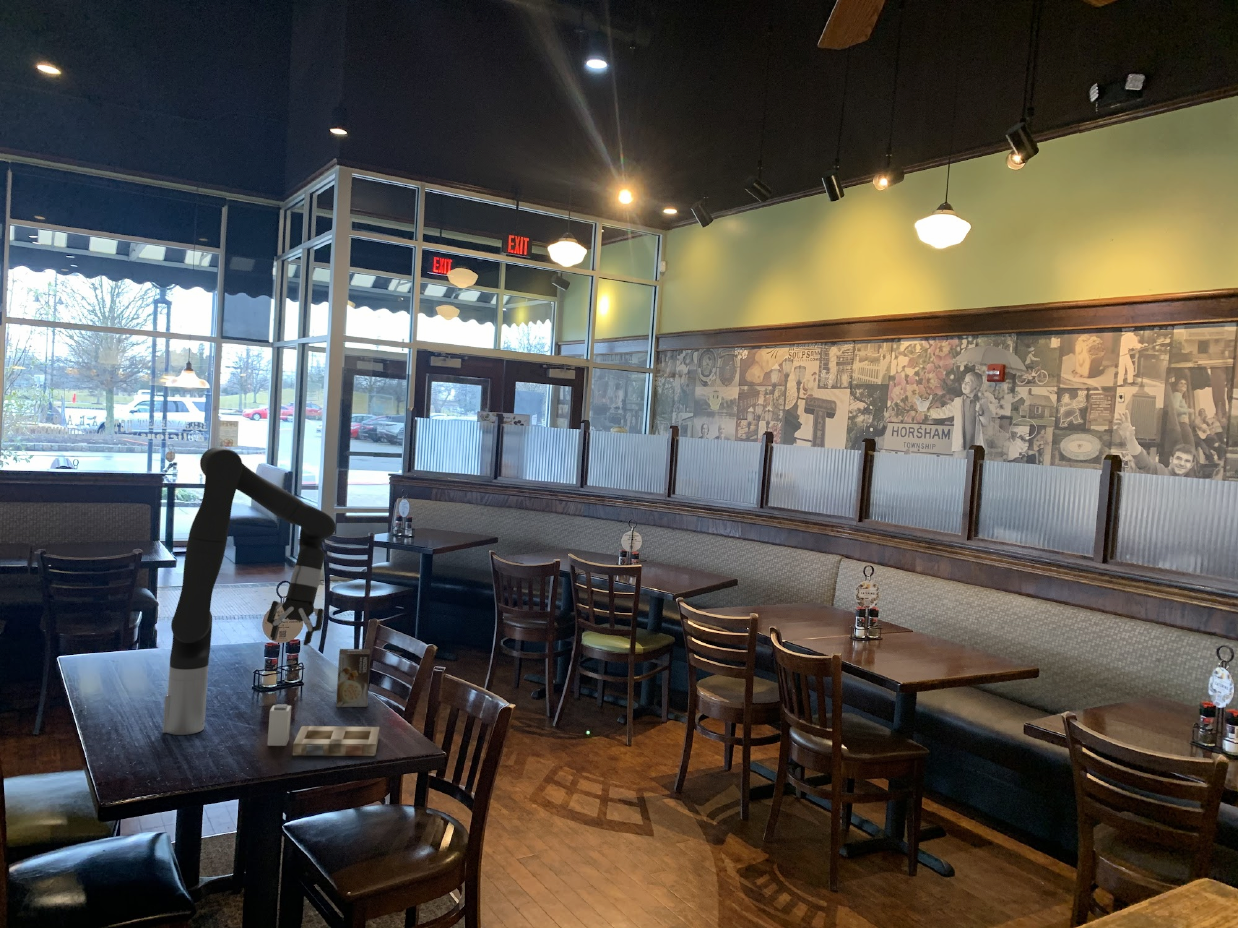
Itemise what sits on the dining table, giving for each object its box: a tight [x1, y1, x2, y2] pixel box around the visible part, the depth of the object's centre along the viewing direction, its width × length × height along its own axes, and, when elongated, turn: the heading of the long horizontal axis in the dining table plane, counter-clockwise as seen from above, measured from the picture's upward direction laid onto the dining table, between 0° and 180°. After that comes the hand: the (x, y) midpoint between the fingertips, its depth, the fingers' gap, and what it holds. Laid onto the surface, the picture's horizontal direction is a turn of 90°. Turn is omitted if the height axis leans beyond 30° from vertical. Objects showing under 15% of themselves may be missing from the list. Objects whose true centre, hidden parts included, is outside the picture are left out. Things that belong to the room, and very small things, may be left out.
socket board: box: [292, 725, 380, 757], centre depth 226 cm, size 20×14×3 cm
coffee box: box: [335, 648, 371, 708], centre depth 261 cm, size 9×6×16 cm
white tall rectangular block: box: [267, 703, 292, 747], centre depth 226 cm, size 4×4×10 cm
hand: (289, 642), depth 238 cm, fingers open, 8 cm apart
